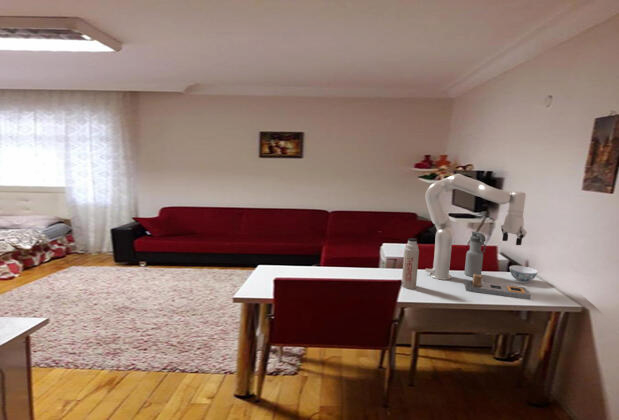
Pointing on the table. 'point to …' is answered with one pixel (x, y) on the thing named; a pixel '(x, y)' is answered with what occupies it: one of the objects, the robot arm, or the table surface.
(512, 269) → the chinaware
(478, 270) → the water bottle
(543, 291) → the table surface
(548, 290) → the table surface
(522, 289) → the gray peg board
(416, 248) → the thermos bottle
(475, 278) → the peg
